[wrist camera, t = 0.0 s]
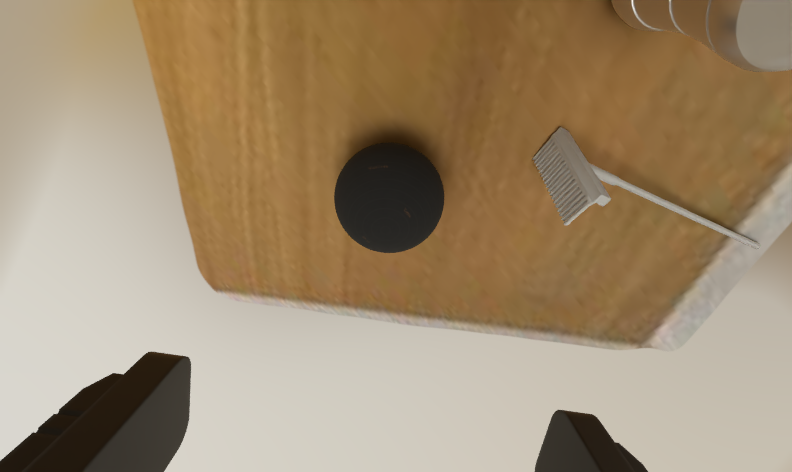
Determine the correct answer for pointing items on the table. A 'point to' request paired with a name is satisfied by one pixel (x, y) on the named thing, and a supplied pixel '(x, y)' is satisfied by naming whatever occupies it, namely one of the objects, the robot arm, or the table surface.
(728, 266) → the table surface
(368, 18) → the table surface
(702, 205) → the table surface
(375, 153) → the speaker
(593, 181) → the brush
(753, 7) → the plastic bottle
